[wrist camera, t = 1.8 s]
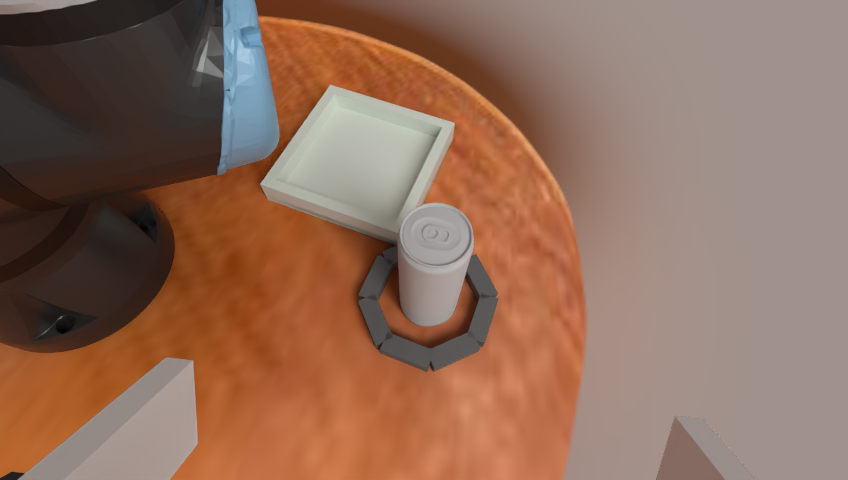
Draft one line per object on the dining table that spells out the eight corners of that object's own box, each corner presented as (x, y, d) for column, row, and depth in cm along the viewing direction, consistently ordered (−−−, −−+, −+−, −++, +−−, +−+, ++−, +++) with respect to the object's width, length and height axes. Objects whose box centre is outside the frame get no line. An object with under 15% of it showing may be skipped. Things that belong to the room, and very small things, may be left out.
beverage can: (407, 270, 38) (408, 193, 27) (460, 283, 37) (482, 209, 27) (393, 321, 35) (387, 258, 25) (449, 335, 35) (467, 277, 25)
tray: (267, 199, 41) (259, 184, 39) (334, 102, 47) (330, 84, 45) (402, 248, 39) (402, 234, 37) (452, 139, 45) (454, 123, 43)
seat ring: (341, 337, 35) (339, 333, 34) (393, 229, 40) (393, 223, 39) (468, 388, 33) (470, 385, 32) (506, 269, 38) (509, 263, 37)
